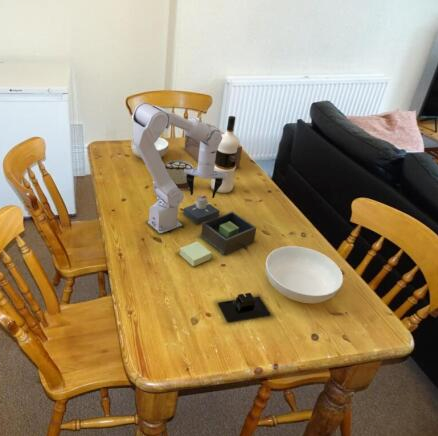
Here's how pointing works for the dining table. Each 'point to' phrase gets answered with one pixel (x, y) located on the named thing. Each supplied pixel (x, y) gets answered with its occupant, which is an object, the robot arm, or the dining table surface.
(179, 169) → the food container
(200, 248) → the mint block
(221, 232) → the cube
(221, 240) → the black storage bin
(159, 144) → the cereal bowl
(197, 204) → the dial knob
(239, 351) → the dining table surface
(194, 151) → the tissue box cover
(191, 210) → the rotary dial base
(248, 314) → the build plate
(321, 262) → the serving bowl
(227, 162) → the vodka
